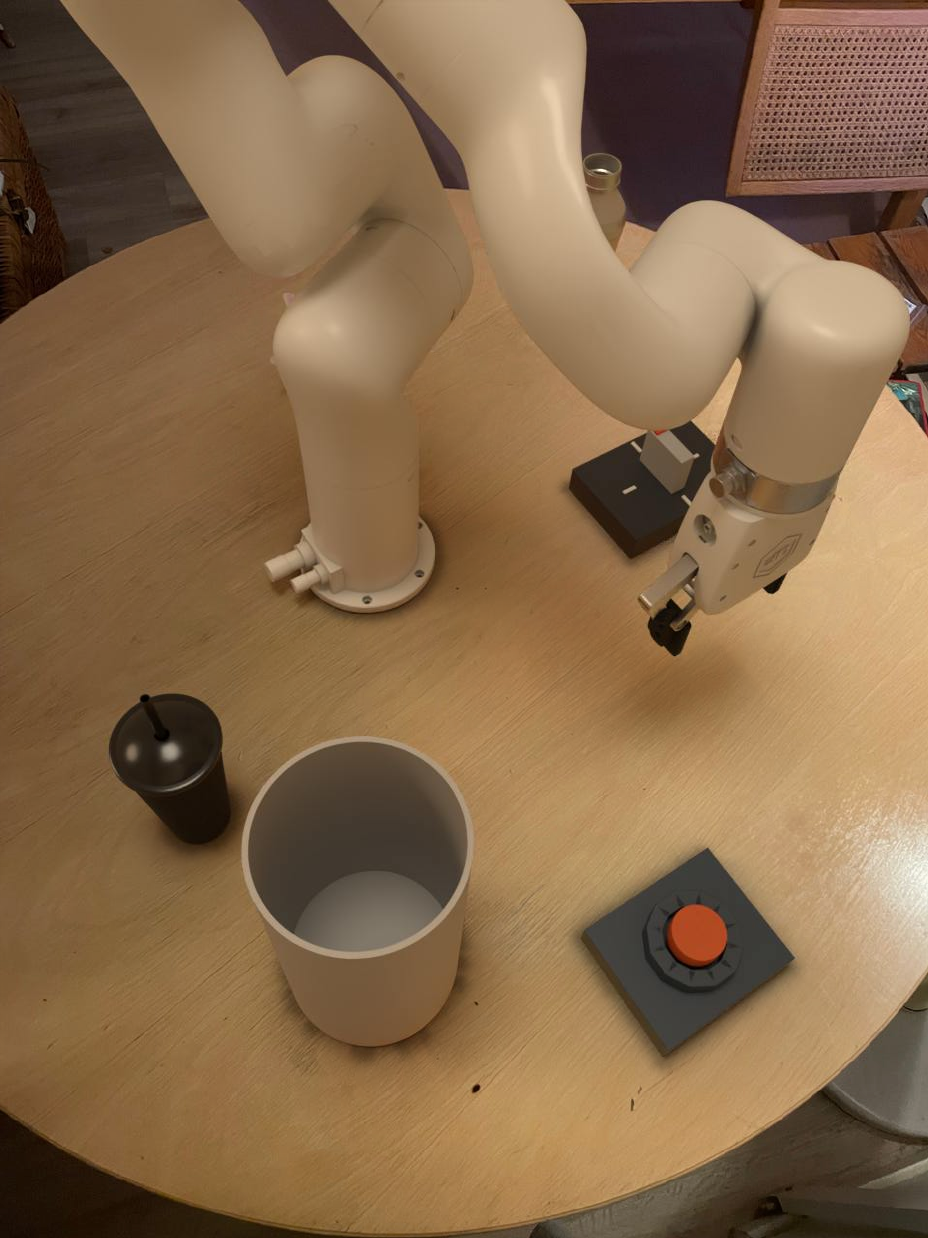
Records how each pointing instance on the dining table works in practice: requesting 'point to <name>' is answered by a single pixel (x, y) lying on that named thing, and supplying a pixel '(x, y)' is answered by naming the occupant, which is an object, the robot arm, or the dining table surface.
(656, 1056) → the dining table surface
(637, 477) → the panel
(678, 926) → the button
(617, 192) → the plastic bottle
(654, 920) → the switch block
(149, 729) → the drinking cup
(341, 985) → the cylinder vase
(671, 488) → the temp dial
